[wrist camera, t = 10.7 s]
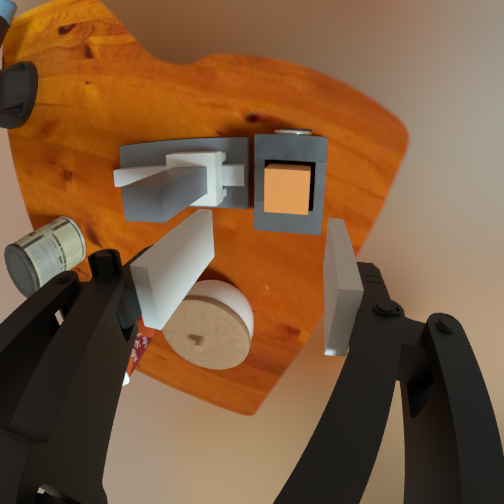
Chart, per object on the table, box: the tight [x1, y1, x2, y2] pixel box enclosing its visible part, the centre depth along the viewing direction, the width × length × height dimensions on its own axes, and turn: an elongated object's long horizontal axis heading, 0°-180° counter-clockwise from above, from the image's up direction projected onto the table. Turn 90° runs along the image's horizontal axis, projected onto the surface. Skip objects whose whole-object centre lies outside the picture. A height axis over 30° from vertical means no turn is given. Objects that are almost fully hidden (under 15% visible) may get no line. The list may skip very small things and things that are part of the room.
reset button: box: [264, 163, 311, 215], centre depth 26 cm, size 4×4×4 cm
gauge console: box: [254, 128, 327, 235], centre depth 30 cm, size 11×7×7 cm, turn 0°
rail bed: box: [113, 137, 250, 209], centre depth 34 cm, size 9×19×3 cm, turn 90°
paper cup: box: [122, 315, 156, 386], centre depth 44 cm, size 8×8×14 cm
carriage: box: [121, 151, 227, 223], centre depth 27 cm, size 6×6×14 cm
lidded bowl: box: [162, 280, 254, 369], centre depth 38 cm, size 13×13×11 cm
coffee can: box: [4, 216, 86, 298], centre depth 40 cm, size 10×10×14 cm
